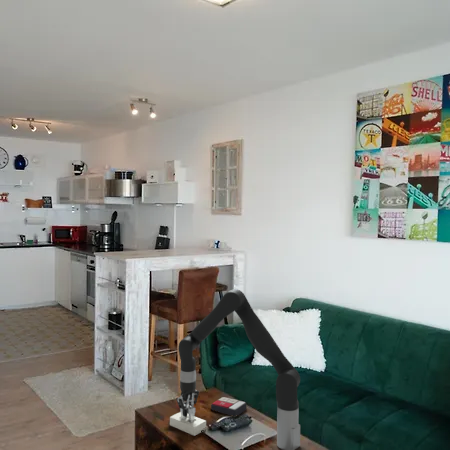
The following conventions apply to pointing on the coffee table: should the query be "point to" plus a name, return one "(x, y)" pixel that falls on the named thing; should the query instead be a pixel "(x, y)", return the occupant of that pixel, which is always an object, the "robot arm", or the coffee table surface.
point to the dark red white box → (229, 406)
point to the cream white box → (187, 424)
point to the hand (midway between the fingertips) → (187, 414)
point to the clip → (191, 413)
